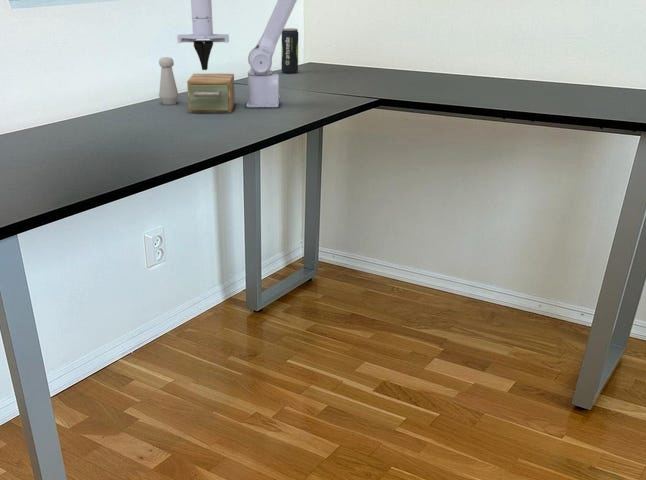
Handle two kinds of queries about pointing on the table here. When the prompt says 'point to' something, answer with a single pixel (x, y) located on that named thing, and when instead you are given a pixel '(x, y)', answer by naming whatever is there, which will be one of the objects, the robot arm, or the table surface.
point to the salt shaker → (167, 82)
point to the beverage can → (289, 50)
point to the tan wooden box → (214, 80)
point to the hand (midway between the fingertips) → (204, 69)
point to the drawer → (209, 97)
